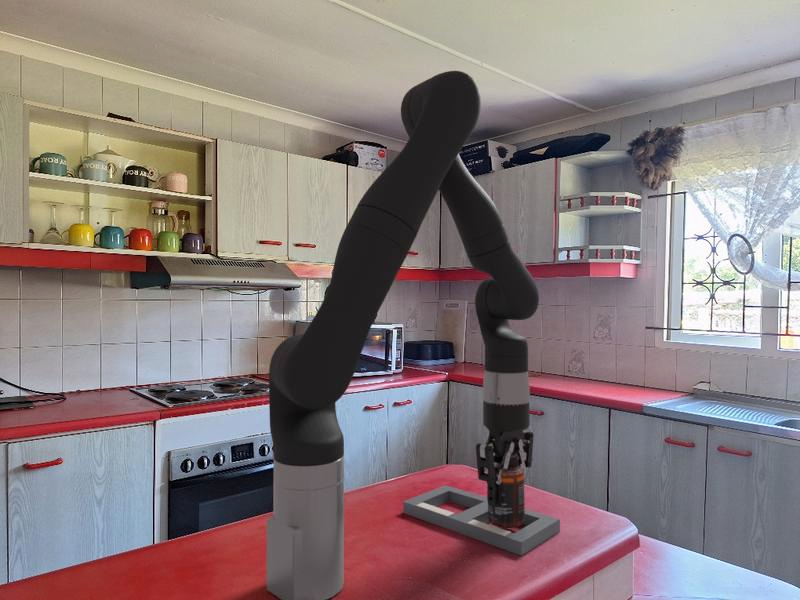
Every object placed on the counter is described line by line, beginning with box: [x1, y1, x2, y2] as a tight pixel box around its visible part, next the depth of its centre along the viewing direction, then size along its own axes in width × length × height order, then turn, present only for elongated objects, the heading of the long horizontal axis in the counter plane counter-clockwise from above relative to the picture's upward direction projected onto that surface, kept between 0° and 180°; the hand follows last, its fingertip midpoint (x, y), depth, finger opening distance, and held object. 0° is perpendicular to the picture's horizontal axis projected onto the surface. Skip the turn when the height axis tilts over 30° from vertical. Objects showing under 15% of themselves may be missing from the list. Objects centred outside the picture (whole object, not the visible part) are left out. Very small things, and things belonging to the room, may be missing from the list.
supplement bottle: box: [488, 453, 525, 529], centre depth 91 cm, size 6×6×11 cm
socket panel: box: [402, 484, 561, 556], centre depth 95 cm, size 12×24×2 cm, turn 47°
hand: (505, 500), depth 91 cm, fingers closed on supplement bottle, 6 cm apart
